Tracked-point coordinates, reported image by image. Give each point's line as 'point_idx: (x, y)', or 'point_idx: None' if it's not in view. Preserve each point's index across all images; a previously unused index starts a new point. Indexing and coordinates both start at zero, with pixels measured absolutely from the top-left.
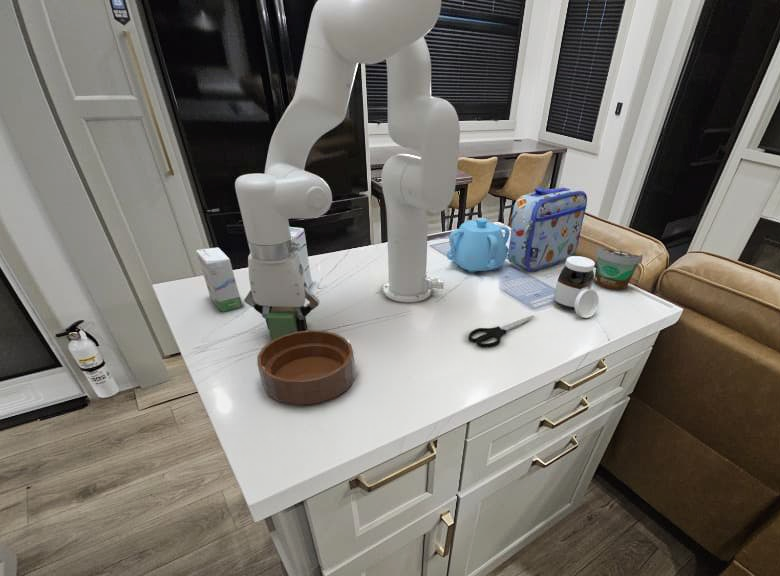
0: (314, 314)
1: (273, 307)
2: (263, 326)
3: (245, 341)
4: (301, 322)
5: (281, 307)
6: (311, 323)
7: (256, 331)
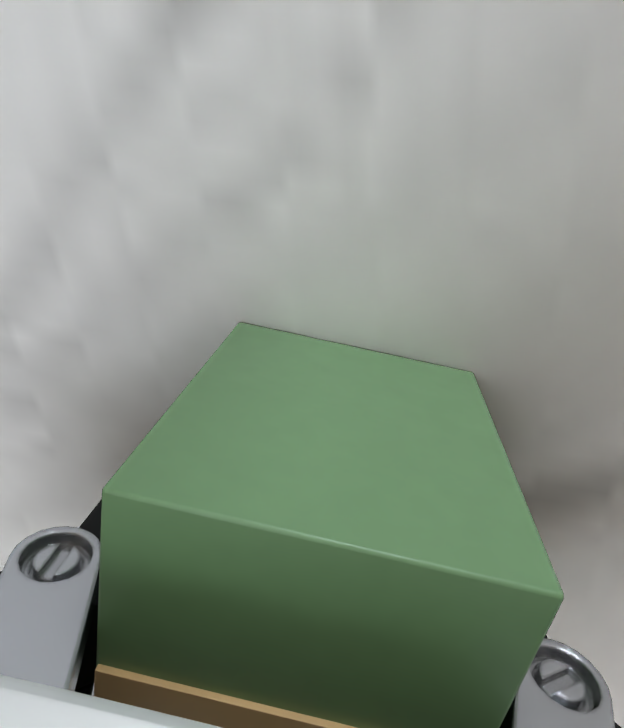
0: (621, 69)
1: (110, 698)
2: (65, 306)
3: (6, 516)
4: None
5: (231, 721)
6: (549, 309)
7: (34, 387)
